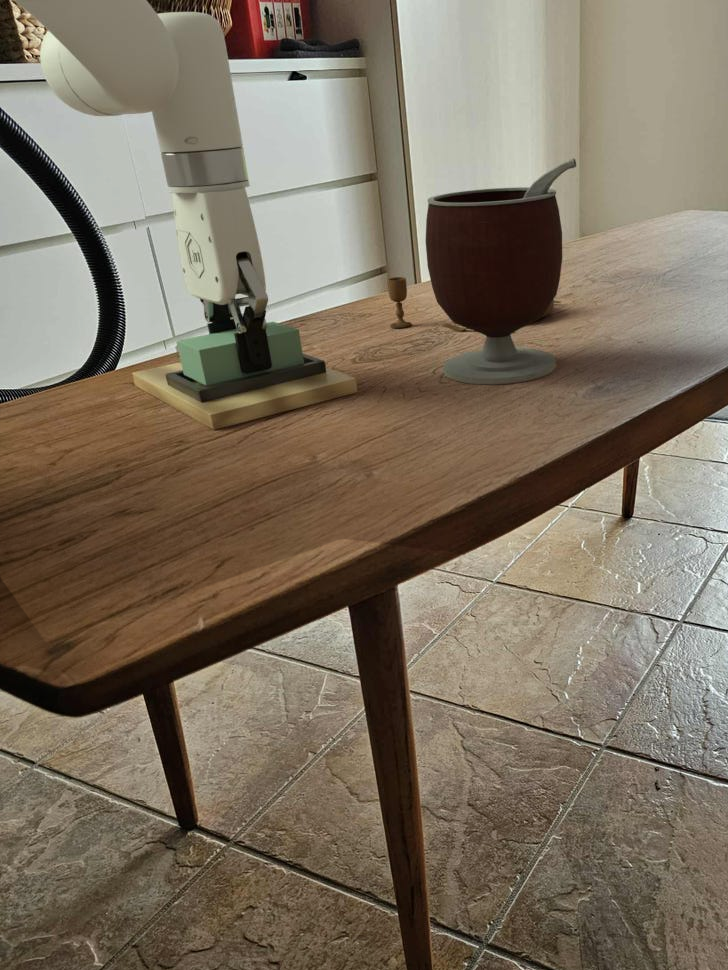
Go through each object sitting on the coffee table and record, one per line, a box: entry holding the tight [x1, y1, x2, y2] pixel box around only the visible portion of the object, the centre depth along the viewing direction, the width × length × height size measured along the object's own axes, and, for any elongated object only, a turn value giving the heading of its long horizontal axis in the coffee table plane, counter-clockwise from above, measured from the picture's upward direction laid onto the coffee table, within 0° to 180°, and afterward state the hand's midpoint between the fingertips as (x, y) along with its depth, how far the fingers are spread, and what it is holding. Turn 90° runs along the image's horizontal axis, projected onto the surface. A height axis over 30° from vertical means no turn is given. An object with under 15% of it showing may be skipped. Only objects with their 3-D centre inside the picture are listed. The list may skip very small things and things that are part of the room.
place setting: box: [386, 276, 562, 332], centre depth 119 cm, size 18×20×6 cm
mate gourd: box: [425, 158, 577, 385], centre depth 93 cm, size 16×14×20 cm
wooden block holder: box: [131, 353, 358, 431], centre depth 96 cm, size 16×22×3 cm
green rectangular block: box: [175, 321, 304, 386], centre depth 93 cm, size 11×6×4 cm, turn 128°
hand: (243, 363), depth 94 cm, fingers closed on green rectangular block, 5 cm apart
